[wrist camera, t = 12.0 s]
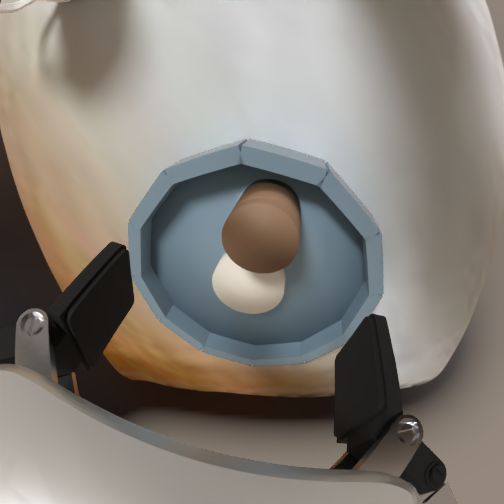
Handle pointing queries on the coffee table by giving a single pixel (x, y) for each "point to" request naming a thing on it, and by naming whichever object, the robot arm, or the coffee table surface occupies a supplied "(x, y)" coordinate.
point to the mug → (22, 5)
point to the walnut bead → (263, 227)
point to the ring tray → (249, 283)
